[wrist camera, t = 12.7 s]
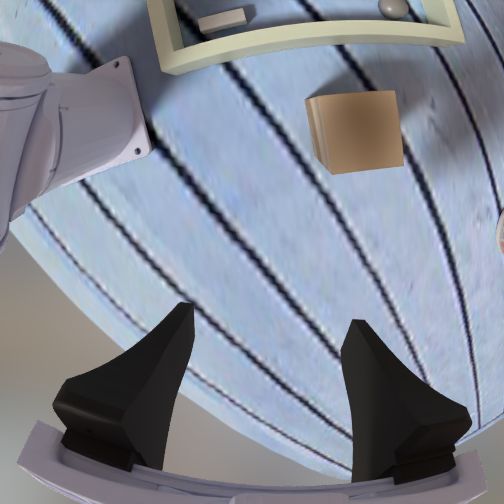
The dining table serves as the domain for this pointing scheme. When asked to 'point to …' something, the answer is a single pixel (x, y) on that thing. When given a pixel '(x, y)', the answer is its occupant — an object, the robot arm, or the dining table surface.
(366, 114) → the maple block
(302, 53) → the dining table surface
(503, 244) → the pill bottle
